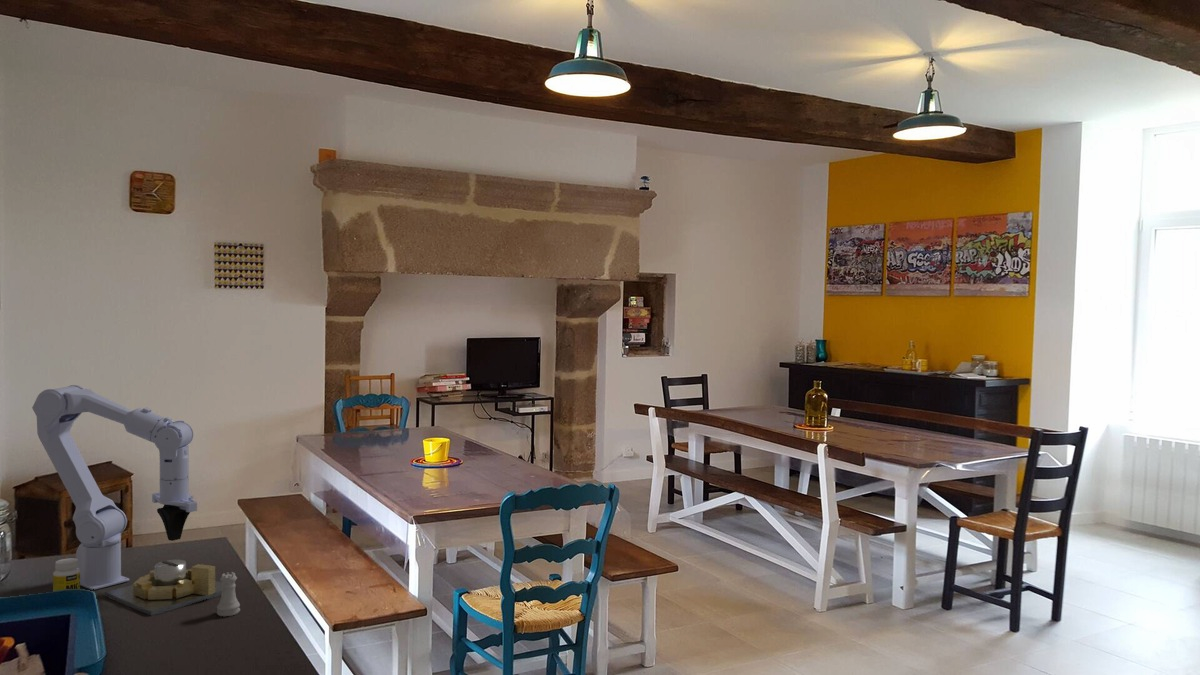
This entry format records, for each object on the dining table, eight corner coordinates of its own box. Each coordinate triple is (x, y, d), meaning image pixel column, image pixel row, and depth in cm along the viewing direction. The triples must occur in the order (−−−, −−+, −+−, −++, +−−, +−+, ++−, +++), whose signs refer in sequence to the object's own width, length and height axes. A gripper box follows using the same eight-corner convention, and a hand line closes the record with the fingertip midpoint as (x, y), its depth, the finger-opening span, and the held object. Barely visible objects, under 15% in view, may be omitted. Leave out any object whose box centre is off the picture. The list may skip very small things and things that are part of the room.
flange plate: (105, 596, 183) (105, 565, 182) (187, 575, 198) (187, 546, 197) (151, 615, 173) (151, 582, 172) (234, 591, 187) (234, 561, 187)
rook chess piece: (245, 611, 176) (245, 572, 176) (227, 618, 172) (227, 578, 172) (229, 607, 178) (229, 569, 177) (211, 615, 174) (211, 575, 173)
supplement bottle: (67, 606, 177) (66, 565, 177) (47, 604, 178) (46, 563, 177) (85, 598, 182) (85, 558, 181) (66, 596, 183) (65, 556, 182)
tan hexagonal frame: (164, 607, 174) (164, 580, 174) (123, 590, 183) (123, 563, 183) (226, 590, 184) (226, 564, 184) (184, 574, 194) (183, 549, 194)
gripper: (210, 479, 190) (210, 541, 190) (173, 470, 198) (173, 529, 198) (179, 484, 184) (179, 548, 184) (142, 475, 192) (143, 536, 193)
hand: (174, 539), depth 191 cm, fingers closed
